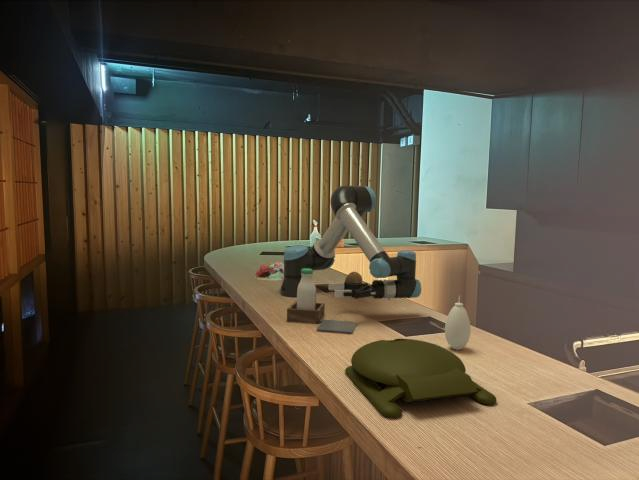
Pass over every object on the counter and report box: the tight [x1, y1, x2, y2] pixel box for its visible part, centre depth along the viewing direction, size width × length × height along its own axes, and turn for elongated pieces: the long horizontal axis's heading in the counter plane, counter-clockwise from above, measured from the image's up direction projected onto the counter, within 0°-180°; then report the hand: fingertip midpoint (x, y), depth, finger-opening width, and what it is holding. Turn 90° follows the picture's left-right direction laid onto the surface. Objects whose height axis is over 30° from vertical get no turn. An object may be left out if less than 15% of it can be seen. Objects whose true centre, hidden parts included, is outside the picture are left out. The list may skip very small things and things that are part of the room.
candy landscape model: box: [254, 261, 284, 282], centre depth 269 cm, size 25×24×9 cm
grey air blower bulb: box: [444, 295, 471, 351], centre depth 150 cm, size 8×8×18 cm
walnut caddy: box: [286, 300, 326, 325], centre depth 183 cm, size 12×12×5 cm
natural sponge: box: [344, 271, 363, 283], centre depth 235 cm, size 9×9×10 cm
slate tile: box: [316, 319, 357, 335], centre depth 172 cm, size 13×13×1 cm
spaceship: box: [344, 338, 497, 419], centre depth 124 cm, size 35×31×10 cm
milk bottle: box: [296, 268, 317, 310], centre depth 182 cm, size 8×8×20 cm
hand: (331, 290), depth 184 cm, fingers open, 13 cm apart
